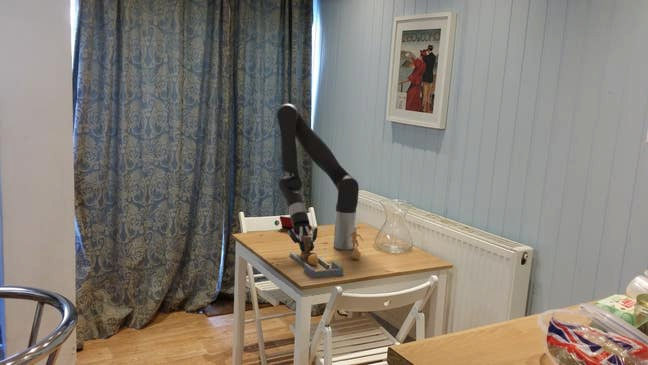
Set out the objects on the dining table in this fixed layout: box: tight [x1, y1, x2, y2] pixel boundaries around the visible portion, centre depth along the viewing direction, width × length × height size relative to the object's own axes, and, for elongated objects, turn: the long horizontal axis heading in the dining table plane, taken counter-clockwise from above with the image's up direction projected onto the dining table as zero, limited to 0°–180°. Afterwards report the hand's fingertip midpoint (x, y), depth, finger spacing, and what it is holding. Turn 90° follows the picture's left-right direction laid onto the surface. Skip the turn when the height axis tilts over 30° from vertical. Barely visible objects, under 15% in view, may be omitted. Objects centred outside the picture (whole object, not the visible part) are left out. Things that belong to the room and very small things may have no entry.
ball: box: [307, 254, 319, 266], centre depth 234 cm, size 4×4×4 cm
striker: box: [296, 235, 318, 263], centre depth 240 cm, size 6×8×10 cm
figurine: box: [347, 231, 364, 261], centre depth 245 cm, size 8×6×12 cm
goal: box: [303, 260, 344, 279], centre depth 225 cm, size 13×8×3 cm, turn 114°
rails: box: [289, 251, 330, 270], centre depth 238 cm, size 10×20×2 cm, turn 24°
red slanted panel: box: [279, 215, 293, 230], centre depth 289 cm, size 12×11×7 cm
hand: (307, 250), depth 239 cm, fingers closed on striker, 3 cm apart
